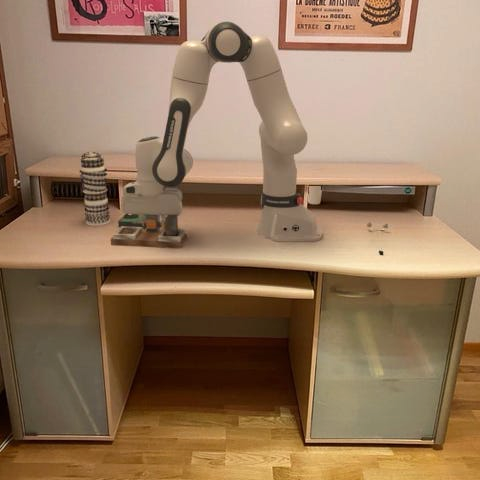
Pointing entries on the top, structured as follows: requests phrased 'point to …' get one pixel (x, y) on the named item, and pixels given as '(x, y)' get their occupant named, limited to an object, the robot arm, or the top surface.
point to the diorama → (381, 253)
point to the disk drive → (131, 221)
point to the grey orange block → (152, 223)
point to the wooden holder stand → (152, 235)
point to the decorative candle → (94, 188)
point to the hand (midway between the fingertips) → (153, 226)
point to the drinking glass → (314, 191)
